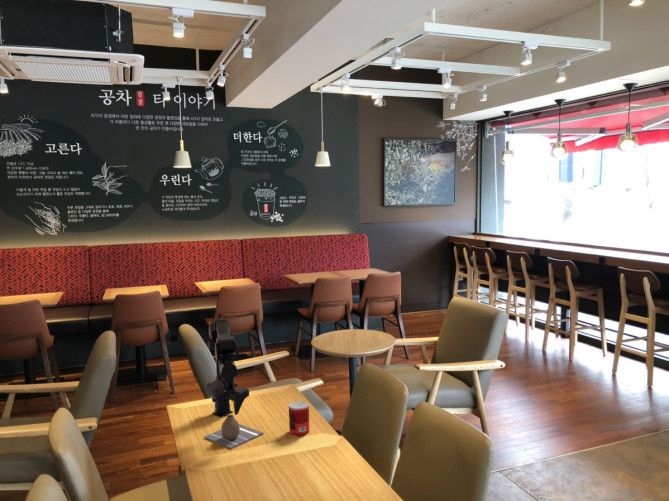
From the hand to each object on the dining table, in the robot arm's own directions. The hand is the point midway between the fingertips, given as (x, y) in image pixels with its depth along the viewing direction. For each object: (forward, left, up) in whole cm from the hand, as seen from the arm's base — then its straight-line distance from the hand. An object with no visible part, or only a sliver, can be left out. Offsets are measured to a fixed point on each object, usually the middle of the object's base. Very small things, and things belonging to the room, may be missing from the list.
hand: (228, 411), depth 200 cm
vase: (0, 0, -11) cm, 11 cm away
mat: (-1, +3, -11) cm, 11 cm away
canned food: (+17, +21, -11) cm, 29 cm away
